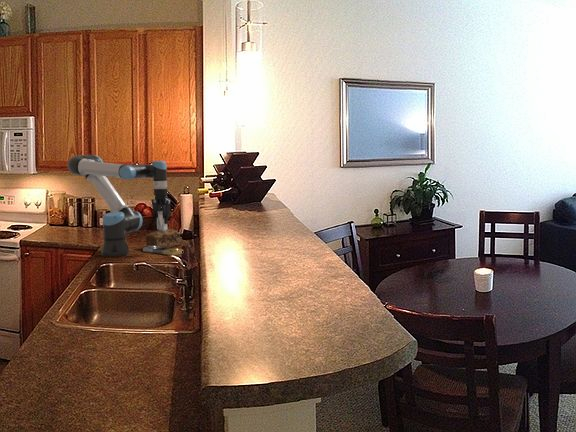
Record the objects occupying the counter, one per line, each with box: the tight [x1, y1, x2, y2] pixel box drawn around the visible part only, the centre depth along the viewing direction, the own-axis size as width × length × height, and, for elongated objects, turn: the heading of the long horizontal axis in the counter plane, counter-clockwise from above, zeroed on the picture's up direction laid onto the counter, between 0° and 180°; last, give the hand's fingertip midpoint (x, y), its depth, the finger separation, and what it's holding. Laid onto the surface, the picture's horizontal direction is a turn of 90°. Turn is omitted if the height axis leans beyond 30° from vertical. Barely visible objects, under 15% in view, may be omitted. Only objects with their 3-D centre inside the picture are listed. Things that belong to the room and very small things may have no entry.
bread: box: [145, 228, 181, 248], centre depth 329 cm, size 19×11×10 cm, turn 141°
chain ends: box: [142, 245, 184, 256], centre depth 311 cm, size 24×8×3 cm, turn 57°
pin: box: [157, 210, 166, 233], centre depth 309 cm, size 5×5×12 cm
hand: (162, 229), depth 310 cm, fingers closed on pin, 4 cm apart
